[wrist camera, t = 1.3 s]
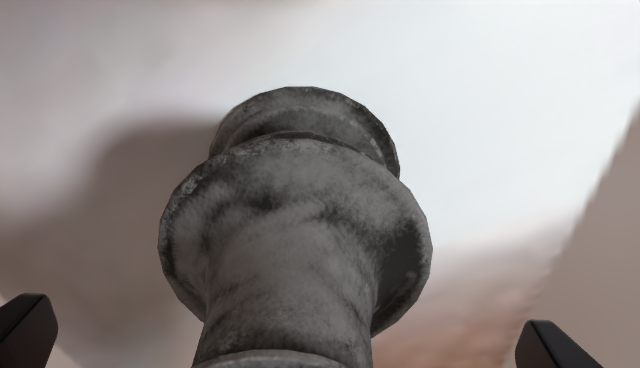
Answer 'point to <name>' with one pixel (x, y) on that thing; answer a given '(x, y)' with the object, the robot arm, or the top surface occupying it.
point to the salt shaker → (295, 235)
